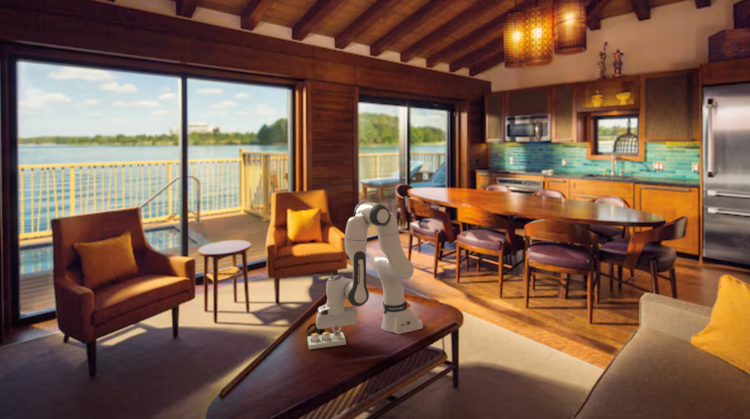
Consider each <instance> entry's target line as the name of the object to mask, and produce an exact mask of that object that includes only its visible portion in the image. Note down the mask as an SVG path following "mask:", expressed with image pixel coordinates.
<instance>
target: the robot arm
mask: <svg viewBox="0 0 750 419" xmlns="http://www.w3.org/2000/svg"><path fill="white" fill-rule="evenodd" d="M371 225H372V226H375V227H376V230H377V231H376V232H377V239H378V245H379V246H378V247H379V249H380V250H381V252H382V253H383V254H378V255H377V256H376V257H374V260H373V261H372V262H373V263H372V268H373V269H374V271H375V272H376V273H377V275H378V277H379V280H380V282H381V286H382V293H383V295H382V296H383V301H382V313H383V314H382V316H383V317H382V322H381V326H380V327H381V328H380V329H382V330H383V331H384V332H385V331H386V332H388V333H389V332H390V333H394V334H397V335H400V334H405V333H408V332H409V333H411V332H413V331H418V330H421V329H423V328H424V323H423V322H422V321H421V319H420V318H419V316H418V314H417V313H416V312H415V310H413V309H411V306H412V305H411V304H410V303H409V302H408V301H407V300H405V288H404V286H403V284H402V283H401V282H400V281H401V280H403V281H405V280H407V281H408V280H410V279H411V278H412V276H413V275H414V271H415V267H414V264H413V263H412V261H410V260H409V259H408V256H407V255H406V254H405V251H404V249H403V247H402V244H401V237H400V230H399V225H398V221H397V217H396V215H395V214H394V213H393V212H392V211H390V210H389V209H388V207H387V206H385V205H383V204H380V203H376V202H368V201H360V202H359V203H358V204H356V206H355V208H354V210H353V214H352V216H351V217H349V218H348V220H347V222H346V226H345V233H344V242H343V243H344V244H343V245H344V251H345V254H346V255H347V256H348V258H349V260H350V262H351V266H352V278H346V277H344V276H342V275H340V274H334V275H331V276H330V277H328V279H327V280H326V286H325V288H326V289H325V291H326V292H325V293H326V294H325V295H326V297H327V299H326V303H325V304H323V305H321V306H318V308H317V311H318V312H317V313H316V317H315V322H316V327H317V328H318V329H324V330H325V329H330V328H331V330H332V332H333V333H334V335H340V332H342V329H343V327H345V326H354V325H357V323H358V321H357V320H358V319H357V312H358V309H357V308H356V307H362V306H364V305H365V304H366V303H367V302H368V301H369V298H370V292H369V289H368V286H367V243H368V230H369V228H370V226H371ZM346 300H348V302H349V303H350V305H351V306H346ZM336 328H338V330H337V329H336ZM335 329H336V330H335Z"/></svg>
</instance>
